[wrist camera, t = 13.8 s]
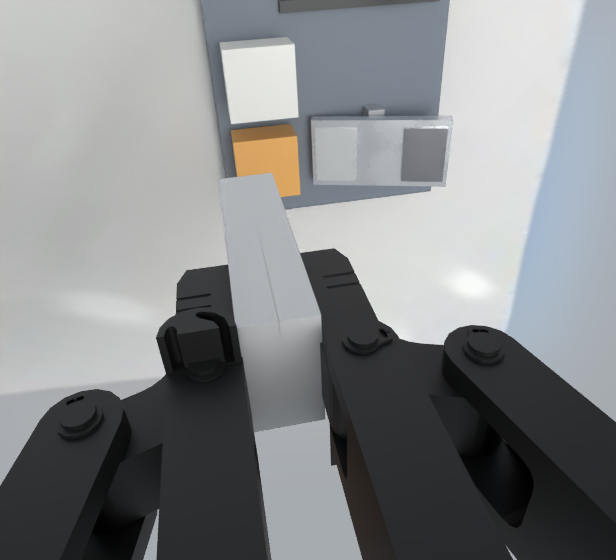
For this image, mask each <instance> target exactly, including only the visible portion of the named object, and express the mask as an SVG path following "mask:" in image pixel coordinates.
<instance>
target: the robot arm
mask: <svg viewBox="0 0 616 560" xmlns="http://www.w3.org/2000/svg"><path fill="white" fill-rule="evenodd" d="M218 180H219V189H220V197H221V206H222V215H223V224H224V232H225V241H226V250H227V258H228V265H222V266H215V267H207V268H200V269H193V270H186V272H185V273H184V275H183V276H182V278H181V279H180V281H179V282H178V283H177V298H176V299H177V301H176V315H175V316H173V317H171V318H169V319H168V320H167V321H166V322H165V323H164V324H163V325H162V326H161V327H160V329H159V331H158V334H157V337H156V340H157V343H158V347H159V350H160V354H161V357H162V361H163V364H164V368H165V371H166V375H165V376H164V377H163V378H162V379H161V380H160V381H158V382H157V383H156V384H154V385H153V386H152V387H150V388H148V389H146V390H144V391H142V392H139V393H137V394H135V395H132V396H130V397H128V398H125V399H123V400H120V398H119V397H117V396H116V395H115V394H113V393H112V392H110V391H104V390H99V389H95V390H88V391H81V392H78V393H76V394H74V395H71V396H68V397H66V398H64V399H63V400H61V401H60V402H58V403H57V404H55V405H54V406H53V407H51V408H50V409H49V410H48V411H47V413H46V414H45V415H44V416H43V417H42V419H41V420H40V421H39V423H38V425H37V426H36V428H35V430H34V431H33V433H32V435H31V436H30V438H29V440H28V441H27V443H26V445H25V446H24V448H23V449H22V451H21V453H20V454H19V456H18V458H17V459H16V461H15V463H14V464H13V466H12V468H11V469H10V471H9V473H8V474H7V476H6V477H5V479H4V481H3V482H2V484H1V486H0V560H143V558H144V555H145V551H146V548H147V545H148V542H149V539H150V535H151V532H152V529H153V526H154V522H155V519H156V516H157V509H159V524H158V543H157V560H271V554H270V546H269V539H268V531H267V523H266V516H265V509H264V501H263V493H262V486H261V478H260V471H259V463H258V455H257V449H256V444H255V437H254V432H257V431H263V430H269V429H274V428H280V427H285V426H290V425H296V424H301V423H307V422H312V421H318V420H323V419H325V408H326V412H327V415H328V419H329V422H330V445H331V465H337V468H338V471H339V475H340V479H341V482H342V486H343V489H344V493H345V497H346V500H347V504H348V508H349V511H350V515H351V519H352V522H353V526H354V530H355V533H356V537H357V541H358V544H359V548H360V551H361V555H362V559H363V560H513V559H512V557H511V555H510V553H509V551H508V549H507V547H508V548H509V550H510V551H511V552H512V554H513V555H514V556H515V557H516V558H517V560H616V422H615V421H613V420H612V419H611V418H610V417H609V416H608V415H606V414H605V413H604V412H603V411H601V410H600V409H599V408H598V407H596V406H595V405H594V404H593V403H592V402H590V401H589V400H588V399H587V398H585V397H584V396H583V395H582V394H580V393H579V392H578V391H577V390H576V389H574V388H573V387H572V386H571V385H569V384H568V383H567V382H565V380H563V379H562V378H561V377H560V376H559V375H557V374H556V373H555V372H554V371H552V370H551V369H550V368H549V367H548V366H546V365H545V364H544V363H543V362H541V361H540V360H539V359H538V358H537V357H535V356H534V355H533V354H532V353H530V352H529V351H528V350H527V349H525V348H524V347H523V346H522V345H521V344H519V343H518V342H517V341H516V340H514V339H513V338H512V337H510V336H508V335H507V334H505V333H504V332H502V331H500V330H497V329H494V328H490V327H487V326H476V325H470V326H465V327H460V328H458V329H456V330H454V331H453V332H451V333H449V335H448V337H447V338H446V340H445V342H444V345H434V344H420V343H414V342H408V341H405V340H402V339H399V337H398V335H397V334H396V333H395V332H394V331H393V330H392V328H391V327H389V326H387V325H385V324H383V323H382V322H380V321H378V319H377V317H376V315H375V313H374V311H373V309H372V307H371V305H370V303H369V300H368V298H367V296H366V294H365V292H364V290H363V288H362V286H361V284H359V280H358V278H357V276H356V274H354V270H353V268H352V266H351V264H350V262H349V260H348V258H347V257H345V256H344V255H343V254H341V253H340V252H338V251H337V250H336V249H327V250H319V251H312V252H305V253H300V252H299V249H298V246H297V243H296V240H295V238H294V235H293V232H292V229H291V226H290V223H289V220H288V217H287V214H286V211H285V209H284V206H283V203H282V200H281V197H280V194H279V191H278V188H277V185H276V182H275V180H274V177H273V174H272V173H266V174H258V175H249V176H240V177H232V178H223V179H218ZM506 546H507V547H506Z"/></svg>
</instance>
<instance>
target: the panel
mask: <svg viewBox="0 0 616 560" xmlns="http://www.w3.org/2000/svg"><path fill="white" fill-rule="evenodd" d="M449 1H450V0H201V7H202V14H203V21H204V28H205V35H206V42H207V48H208V55H209V62H210V69H211V76H212V83H213V90H214V97H215V104H216V111H217V118H218V124H219V131H220V138H221V145H222V152H223V159H224V166H225V173H226V178H232V177H237V175H236V167H235V159H234V152H233V144H232V137H231V130H236V129H246V128H256V127H265V126H275V125H284V124H291V125H292V127H293V129H294V131H295V133H296V135H297V142H298V160H299V177H300V194H301V195H294V196H285V197H281V200H282V203H283V206H284V209H292V208H300V207H308V206H316V205H324V204H332V203H340V202H348V201H356V200H364V199H372V198H380V197H387V196H395V195H403V194H411V193H419V192H427V191H431V186H370V185H314V183H313V159H312V135H311V119H312V117H313V116H438V112H439V102H440V92H441V82H442V71H443V61H444V51H445V41H446V31H447V21H448V11H449ZM279 37H288V38H289V39H290V40H291V41H292V42H293V43H294V44H295V61H296V80H297V98H298V116H299V117H296V118H286V119H277V120H267V121H257V122H247V123H238V124H231V121H230V116H229V111H228V104H227V96H226V88H225V81H224V73H223V66H222V58H221V50H220V43H219V42H230V41H242V40H254V39H267V38H279Z"/></svg>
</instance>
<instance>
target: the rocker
mask: <svg viewBox="0 0 616 560" xmlns="http://www.w3.org/2000/svg"><path fill="white" fill-rule="evenodd" d="M452 125H453V118H452V116H313V117H312V119H311V135H312V159H313V183H314V185H370V186H439V187H445V185H446V177H447V168H448V159H449V151H450V142H451V134H452Z"/></svg>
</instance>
